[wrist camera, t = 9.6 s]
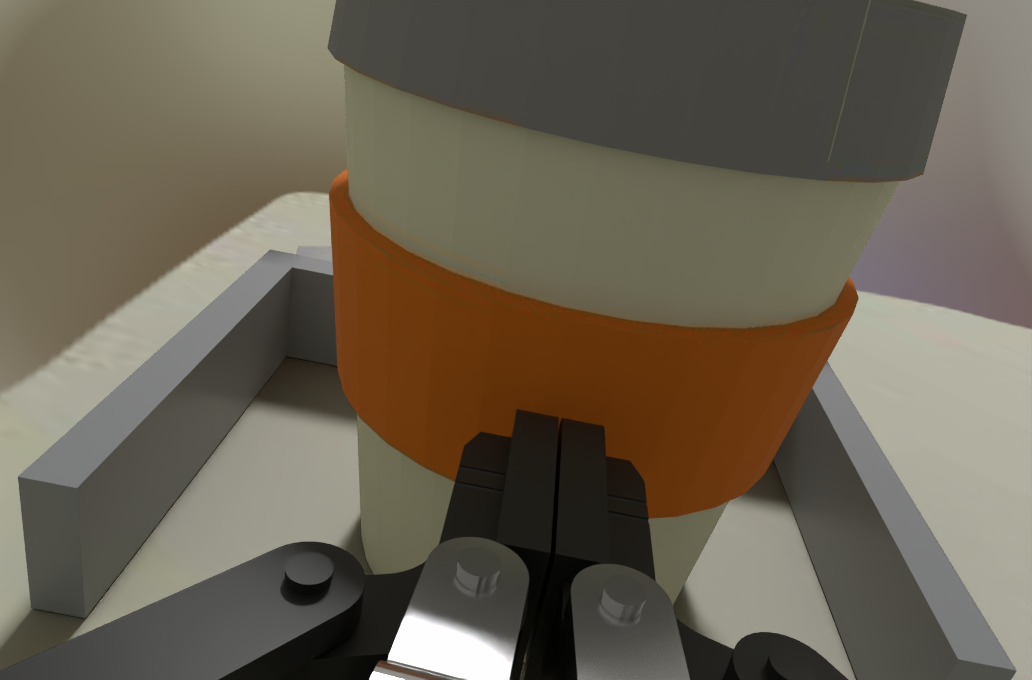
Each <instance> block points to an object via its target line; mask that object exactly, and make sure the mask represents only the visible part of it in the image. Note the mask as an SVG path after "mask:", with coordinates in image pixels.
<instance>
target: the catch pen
mask: <svg viewBox="0 0 1032 680" xmlns="http://www.w3.org/2000/svg"><path fill="white" fill-rule="evenodd" d="M286 356H288V357H293V358H299V359H304V360H309V361H314V362H319V363H324V364H329V365H334V366H337V346H336V325H335V304H334V284H333V263H332V262H331V261H326V260H320V259H315V258H310V257H305V256H300V255H295V254H290V253H285V252H280V251H274V250H269V251H268V252H267V253H266V254H265V255H264V256H263V257H262V258H261V259H259V260H258V261H257V262H256V263H255V264H254V265H253V266H252V267H251V268H249V269H248V270H247V271H246V272H245V273H244V274H243V275H242V276H241V277H239V278H238V279H237V280H236V281H235V282H234V283H233V284H232V285H231V286H229V287H228V288H227V289H226V290H225V291H224V292H223V293H222V294H221V295H219V296H218V297H217V298H216V299H215V300H214V301H213V302H212V303H211V304H209V305H208V306H207V307H206V308H205V309H204V310H203V311H202V312H201V313H199V314H198V315H197V316H196V317H195V318H194V319H193V320H192V321H190V322H189V323H188V324H187V325H186V326H185V327H184V328H183V329H182V330H180V331H179V332H178V333H177V334H176V335H175V336H174V337H173V338H172V339H170V340H169V341H168V342H167V343H166V344H165V345H164V346H163V347H162V348H160V349H159V350H158V351H157V352H156V353H155V354H154V355H153V356H152V357H150V358H149V359H148V360H147V361H146V362H145V363H144V364H143V365H142V366H140V367H139V368H138V369H137V370H136V371H135V372H134V373H133V374H132V375H130V376H129V377H128V378H127V379H126V380H125V381H124V382H123V383H122V384H120V385H119V386H118V387H117V388H116V389H115V390H114V391H113V392H112V393H110V394H109V395H108V396H107V397H106V398H105V399H104V400H103V401H102V402H100V403H99V404H98V405H97V406H96V407H95V408H94V409H93V410H92V411H90V412H89V413H88V414H87V415H86V416H85V417H84V418H83V419H82V420H80V421H79V422H78V423H77V424H76V425H75V426H74V427H73V428H72V429H70V430H69V431H68V432H67V433H66V434H65V435H64V436H63V437H62V438H60V439H59V440H58V441H57V442H56V443H55V444H54V445H53V446H52V447H50V448H49V449H48V450H47V451H46V452H45V453H44V454H43V455H41V456H40V457H39V458H38V459H37V460H36V461H35V462H34V463H33V464H31V465H30V466H29V467H28V468H27V469H26V470H25V471H24V472H23V473H21V474H20V475H19V476H18V482H19V491H20V501H21V511H22V521H23V531H24V541H25V551H26V561H27V571H28V581H29V591H30V600H31V608H34V609H39V610H44V611H50V612H55V613H60V614H65V615H70V616H75V617H81V618H86V617H87V616H88V614H89V613H90V612H91V610H92V609H93V608H94V607H95V605H96V604H97V603H98V601H99V600H100V599H101V597H102V596H103V595H104V593H105V592H106V591H107V590H108V588H109V587H110V586H111V584H112V583H113V582H114V580H115V579H116V578H117V577H118V575H119V574H120V573H121V571H122V570H123V569H124V567H125V566H126V565H127V563H128V562H129V561H130V560H131V558H132V557H133V556H134V554H135V553H136V552H137V550H138V549H139V548H140V547H141V545H142V544H143V543H144V541H145V540H146V539H147V537H148V536H149V535H150V533H151V532H152V531H153V530H154V528H155V527H156V526H157V524H158V523H159V522H160V520H161V519H162V518H163V517H164V515H165V514H166V513H167V511H168V510H169V509H170V507H171V506H172V505H173V504H174V502H175V501H176V500H177V498H178V497H179V496H180V494H181V493H182V492H183V490H184V489H185V488H186V487H187V485H188V484H189V483H190V481H191V480H192V479H193V477H194V476H195V475H196V474H197V472H198V471H199V470H200V468H201V467H202V466H203V464H204V463H205V462H206V460H207V459H208V458H209V457H210V455H211V454H212V453H213V451H214V450H215V449H216V447H217V446H218V445H219V444H220V442H221V441H222V440H223V438H224V437H225V436H226V434H227V433H228V432H229V430H230V429H231V428H232V427H233V425H234V424H235V423H236V421H237V420H238V419H239V417H240V416H241V415H242V414H243V412H244V411H245V410H246V408H247V407H248V406H249V404H250V403H251V402H252V400H253V399H254V398H255V397H256V395H257V394H258V393H259V391H260V390H261V389H262V387H263V386H264V385H265V384H266V382H267V381H268V380H269V378H270V377H271V376H272V374H273V373H274V372H275V371H276V369H277V368H278V367H279V365H280V364H281V363H282V361H283V360H284V359H285V357H286ZM773 460H774V462H775V465H776V468H777V470H778V473H779V475H780V478H781V481H782V483H783V486H784V489H785V491H786V494H787V496H788V499H789V502H790V504H791V507H792V510H793V512H794V515H795V517H796V520H797V523H798V525H799V528H800V531H801V533H802V536H803V538H804V541H805V544H806V546H807V549H808V552H809V554H810V557H811V559H812V562H813V565H814V567H815V570H816V573H817V575H818V578H819V580H820V583H821V586H822V588H823V591H824V594H825V596H826V599H827V601H828V604H829V607H830V609H831V612H832V615H833V617H834V620H835V623H836V625H837V628H838V630H839V633H840V636H841V638H842V641H843V644H844V646H845V649H846V651H847V654H848V657H849V659H850V662H851V665H852V667H853V670H854V672H855V675H856V678H857V680H1011V679H1012V677H1013V676H1014V674H1015V672H1016V671H1017V670H1016V669H1015V667H1014V666H1013V664H1012V662H1011V661H1010V659H1009V657H1008V656H1007V654H1006V652H1005V651H1004V649H1003V648H1002V646H1001V644H1000V643H999V641H998V639H997V638H996V636H995V634H994V633H993V631H992V630H991V628H990V626H989V625H988V623H987V621H986V620H985V618H984V616H983V615H982V613H981V612H980V610H979V608H978V607H977V605H976V603H975V602H974V600H973V598H972V597H971V595H970V594H969V592H968V590H967V589H966V587H965V585H964V584H963V582H962V581H961V579H960V577H959V576H958V574H957V572H956V571H955V569H954V567H953V566H952V564H951V563H950V561H949V559H948V558H947V556H946V554H945V553H944V551H943V549H942V548H941V546H940V545H939V543H938V541H937V540H936V538H935V536H934V535H933V533H932V531H931V530H930V528H929V527H928V525H927V523H926V522H925V520H924V518H923V517H922V515H921V513H920V512H919V510H918V509H917V507H916V505H915V504H914V502H913V500H912V499H911V497H910V496H909V494H908V492H907V491H906V489H905V487H904V486H903V484H902V482H901V481H900V479H899V478H898V476H897V474H896V473H895V471H894V469H893V468H892V466H891V464H890V463H889V461H888V460H887V458H886V456H885V455H884V453H883V451H882V450H881V448H880V446H879V445H878V443H877V442H876V440H875V438H874V437H873V435H872V433H871V432H870V430H869V428H868V427H867V425H866V424H865V422H864V420H863V419H862V417H861V415H860V414H859V412H858V411H857V409H856V407H855V406H854V404H853V402H852V401H851V399H850V397H849V396H848V394H847V393H846V391H845V389H844V388H843V386H842V384H841V383H840V381H839V379H838V378H837V376H836V375H835V373H834V371H833V370H832V368H831V366H830V365H829V363H828V361H827V362H826V364H825V366H824V368H823V369H822V371H821V373H820V375H819V377H818V378H817V380H816V382H815V384H814V386H813V387H812V389H811V391H810V393H809V395H808V397H807V398H806V400H805V402H804V404H803V406H802V407H801V409H800V411H799V413H798V415H797V416H796V418H795V420H794V422H793V424H792V426H791V427H790V429H789V431H788V433H787V435H786V436H785V438H784V440H783V442H782V444H781V445H780V447H779V449H778V451H777V453H776V455H775V456H774V458H773Z"/></svg>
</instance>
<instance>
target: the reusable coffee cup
mask: <svg viewBox="0 0 1032 680" xmlns="http://www.w3.org/2000/svg"><path fill="white" fill-rule="evenodd" d="M966 16H967V15H966V14H963V13H960V12H957V11H954V10H950V9H946V8H942V7H938V6H934V5H930V4H926V3H922V2H918V1H914V0H336V5H335V10H334V16H333V21H332V27H331V33H330V38H329V43H328V49H329V51H330V52H331V54H332V55H333V56H334V58H335V59H336V60H338V61H340V62H341V63H343V64H344V78H345V106H346V131H347V132H346V133H347V156H348V157H347V160H348V168H347V169H346V170H344V171H343V172H342V173H341V174H340V175H339V176H337V177H336V178H335V179H334V181H333V184H332V187H331V190H330V194H329V201H330V221H331V242H332V263H333V284H334V304H335V325H336V346H337V366H338V373H339V377H340V381H341V385H342V389H343V393H344V394H345V396H346V398H347V399H348V401H349V402H350V404H351V405H352V407H353V408H354V410H355V411H356V413H357V429H358V456H359V482H360V509H361V536H362V542H363V547H364V551H365V556H366V560H367V562H368V564H369V566H370V568H371V570H372V572H373V574H374V575H376V574H390V573H398V572H402V571H406V570H409V569H412V568H415V567H416V566H418V565H420V564H422V563H424V562H425V561H426V560H427V558H428V556H429V554H430V553H431V552H432V550H433V549H434V548H436V547H437V546H438V544H439V542H440V538H441V534H442V530H443V526H444V522H445V518H446V514H447V510H448V507H449V503H450V499H451V495H452V491H453V487H454V484H455V479H456V475H457V472H458V468H459V464H460V460H461V456H462V452H463V448H464V445H466V444H467V443H468V442H469V441H470V440H471V439H473V438H474V437H475V436H476V435H477V434H478V433H480V432H486V433H491V434H496V435H501V436H506V437H511V434H512V429H513V424H514V420H515V415H516V411H517V409H520V410H525V411H530V412H536V413H541V414H546V415H551V416H556V417H559V424H560V421H561V419H562V418H567V419H572V420H577V421H582V422H587V423H592V424H597V425H602V426H604V427H605V446H606V456H609V457H614V458H619V459H624V460H629V461H631V462H632V464H633V465H634V467H635V468H636V470H637V471H638V472H639V474H640V475H641V477H642V478H643V480H644V481H645V489H646V498H647V503H646V506H647V507H648V516H649V520H648V523H649V525H650V534H651V543H652V551H653V560H654V569H655V578H656V582H657V583H658V584H659V585H660V586H661V587H662V588H663V589H664V591H665V592H666V593H667V595H668V596H669V598H670V600H671V602H672V605H673V604H674V602H675V601H676V599H677V597H678V595H679V593H680V591H681V589H682V587H683V586H684V584H685V582H686V580H687V578H688V576H689V574H690V573H691V571H692V569H693V567H694V565H695V563H696V561H697V559H698V558H699V556H700V554H701V552H702V550H703V548H704V546H705V545H706V543H707V541H708V539H709V537H710V535H711V533H712V531H713V530H714V528H715V526H716V524H717V522H718V520H719V518H720V516H721V515H722V513H723V511H724V509H725V507H726V505H727V503H728V502H729V501H730V500H732V499H734V498H736V497H738V496H740V495H742V494H744V493H746V492H747V491H748V490H749V489H750V488H751V487H752V486H753V485H754V484H755V483H756V482H757V481H758V480H759V479H760V478H761V477H763V476H764V474H765V473H766V471H767V469H768V467H769V465H770V464H771V462H772V460H773V458H774V456H775V455H776V453H777V451H778V449H779V447H780V445H781V444H782V442H783V440H784V438H785V436H786V435H787V433H788V431H789V429H790V427H791V426H792V424H793V422H794V420H795V418H796V416H797V415H798V413H799V411H800V409H801V407H802V406H803V404H804V402H805V400H806V398H807V397H808V395H809V393H810V391H811V389H812V387H813V386H814V384H815V382H816V380H817V378H818V377H819V375H820V373H821V371H822V369H823V368H824V366H825V364H826V362H827V360H828V358H829V357H830V355H831V353H832V351H833V349H834V348H835V346H836V344H837V342H838V340H839V338H840V337H841V335H842V333H843V331H844V329H845V328H846V326H847V324H848V322H849V320H850V319H851V317H852V315H853V313H854V310H855V307H856V304H857V301H858V295H857V292H856V289H855V286H854V283H853V281H852V280H851V278H850V277H849V275H850V273H851V272H852V270H853V268H854V266H855V264H856V262H857V260H858V259H859V257H860V255H861V253H862V251H863V249H864V247H865V246H866V244H867V242H868V240H869V238H870V236H871V234H872V232H873V231H874V229H875V227H876V225H877V223H878V221H879V219H880V218H881V216H882V214H883V212H884V209H885V208H886V206H887V204H888V202H889V201H890V199H891V197H892V195H893V193H894V191H895V189H896V188H897V186H898V184H899V182H900V181H904V180H909V179H912V178H914V177H917V176H920V175H923V173H924V169H925V166H926V162H927V159H928V155H929V151H930V148H931V144H932V140H933V137H934V133H935V129H936V126H937V122H938V119H939V115H940V111H941V108H942V104H943V100H944V97H945V93H946V89H947V86H948V82H949V78H950V75H951V71H952V68H953V64H954V60H955V57H956V53H957V49H958V46H959V42H960V38H961V34H962V31H963V27H964V24H965V20H966ZM558 428H559V426H558ZM525 657H526V654H525ZM524 662H525V658H524Z"/></svg>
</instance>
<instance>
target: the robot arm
mask: <svg viewBox="0 0 1032 680" xmlns="http://www.w3.org/2000/svg"><path fill="white" fill-rule="evenodd" d="M558 426H559V428H558ZM646 503H647V498H646V489H645V481H644V480H643V478H642V477H641V475H640V474H639V472H638V471H637V470H636V468H635V467H634V465H633V464H632V462H631V461H629V460H624V459H619V458H614V457H609V456H606V446H605V427H604V426H602V425H597V424H592V423H587V422H582V421H577V420H572V419H567V418H562V419H561V421H560V424H559V417H556V416H551V415H546V414H541V413H536V412H530V411H525V410H520V409H517V411H516V415H515V420H514V424H513V429H512V434H511V437H506V436H501V435H496V434H491V433H486V432H480V433H478V434H477V435H476V436H475V437H474V438H473V439H471V440H470V441H469V442H468V443H467V444H466V445H464V448H463V452H462V456H461V460H460V464H459V468H458V472H457V475H456V479H455V484H454V487H453V491H452V495H451V499H450V503H449V507H448V510H447V514H446V518H445V522H444V526H443V530H442V534H441V538H440V542H439V544H438V546H437V547H436V548H434V549H433V550H432V552H431V553H430V554H429V556H428V558H427V560H426V561H425V562H424V563H422V564H420V565H418V566H416V567H415V568H412V569H409V570H406V571H402V572H398V573H390V574H376V575H365V574H364V571H363V568H362V566H361V565H360V563H359V562H358V561H357V559H356V558H355V557H354V556H352V555H351V554H350V553H348V552H347V551H345V550H343V549H341V548H339V547H336V546H334V545H331V544H326V543H321V542H298V543H292V544H288V545H284V546H282V547H279V548H276V549H274V550H272V551H270V552H267V553H265V554H263V555H261V556H258V557H256V558H254V559H252V560H249V561H247V562H245V563H243V564H240V565H238V566H236V567H234V568H231V569H229V570H227V571H225V572H222V573H220V574H218V575H216V576H213V577H211V578H209V579H207V580H204V581H202V582H200V583H198V584H195V585H193V586H191V587H189V588H186V589H184V590H182V591H180V592H177V593H175V594H173V595H171V596H168V597H166V598H164V599H162V600H159V601H157V602H155V603H153V604H150V605H148V606H146V607H143V608H141V609H139V610H137V611H134V612H132V613H130V614H128V615H125V616H123V617H121V618H119V619H116V620H114V621H112V622H110V623H107V624H105V625H103V626H101V627H98V628H96V629H94V630H92V631H89V632H87V633H85V634H83V635H80V636H78V637H76V638H74V639H71V640H69V641H67V642H65V643H62V644H60V645H58V646H56V647H53V648H51V649H49V650H47V651H44V652H42V653H40V654H38V655H35V656H33V657H31V658H29V659H26V660H24V661H22V662H20V663H17V664H15V665H13V666H11V667H8V668H6V669H4V670H2V671H0V680H519V678H520V674H521V670H522V666H523V662H524V658H525V668H524V679H523V680H848V679H847V678H846V677H845V676H844V675H843V674H841V673H840V672H839V671H838V670H837V669H836V668H835V667H834V666H832V665H831V664H830V663H829V662H828V661H827V660H826V659H825V658H823V657H822V656H821V655H820V654H819V653H817V652H816V651H815V650H813V649H812V648H810V647H809V646H807V645H805V644H804V643H802V642H800V641H798V640H796V639H793V638H791V637H788V636H785V635H781V634H777V633H770V632H759V633H753V634H750V635H747V636H745V637H744V638H742V639H741V640H740V641H739V642H738V643H737V644H736V646H735V648H734V649H731V648H729V647H727V646H725V645H723V644H720V643H718V642H716V641H714V640H711V639H709V638H707V637H705V636H703V635H701V634H699V633H697V632H695V631H693V630H692V629H690V628H689V627H687V626H685V625H684V624H683V623H682V622H680V621H679V620H678V619H677V618H676V617H675V613H674V608H673V605H672V602H671V600H670V598H669V596H668V595H667V593H666V592H665V591H664V589H663V588H662V587H661V586H660V585H659V584H658V583H657V582H656V578H655V569H654V560H653V551H652V543H651V534H650V525H649V523H648V520H649V516H648V507H647V506H646ZM525 654H526V657H525Z"/></svg>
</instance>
